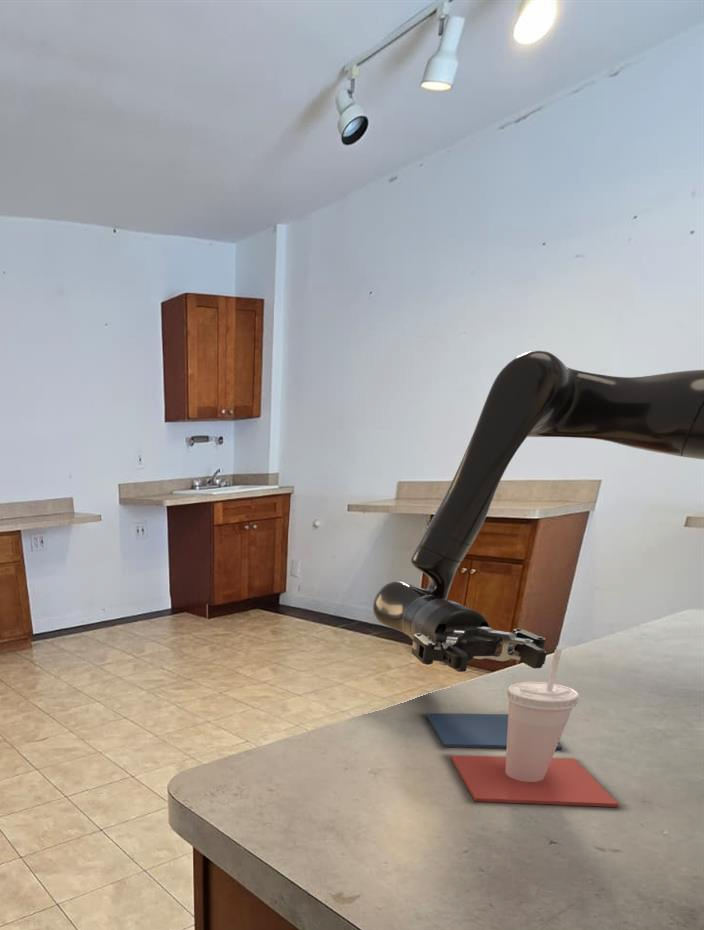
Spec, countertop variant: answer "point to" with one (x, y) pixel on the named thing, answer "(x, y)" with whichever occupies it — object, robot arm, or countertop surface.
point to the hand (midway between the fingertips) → (502, 661)
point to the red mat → (531, 783)
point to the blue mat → (471, 730)
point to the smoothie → (536, 724)
